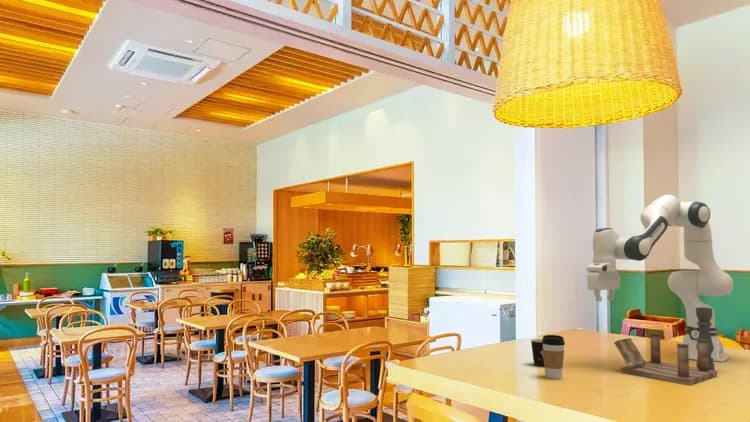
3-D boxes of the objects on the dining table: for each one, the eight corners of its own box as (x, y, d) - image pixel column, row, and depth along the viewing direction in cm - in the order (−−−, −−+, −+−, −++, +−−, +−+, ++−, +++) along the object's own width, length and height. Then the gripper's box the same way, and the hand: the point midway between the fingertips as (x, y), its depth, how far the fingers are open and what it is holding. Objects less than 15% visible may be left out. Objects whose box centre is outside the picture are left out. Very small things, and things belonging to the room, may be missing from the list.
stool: (651, 365, 235) (650, 332, 236) (717, 376, 216) (716, 340, 217) (621, 372, 219) (620, 337, 220) (689, 385, 200) (688, 346, 201)
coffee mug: (529, 366, 229) (529, 341, 230) (532, 362, 237) (532, 338, 238) (559, 369, 225) (559, 343, 226) (561, 365, 233) (561, 340, 234)
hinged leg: (642, 365, 224) (626, 340, 229) (646, 363, 223) (630, 338, 228) (629, 368, 217) (613, 342, 223) (634, 366, 216) (617, 340, 221)
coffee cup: (565, 375, 213) (565, 335, 214) (565, 380, 205) (564, 338, 206) (542, 373, 216) (542, 334, 217) (541, 378, 208) (541, 337, 209)
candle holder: (717, 373, 221) (715, 309, 223) (699, 372, 223) (698, 308, 224) (711, 370, 227) (709, 307, 229) (694, 369, 229) (692, 306, 230)
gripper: (609, 266, 242) (610, 299, 241) (584, 266, 229) (584, 301, 228) (624, 267, 237) (624, 300, 236) (598, 267, 224) (599, 302, 223)
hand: (604, 300), depth 232 cm, fingers open, 8 cm apart
